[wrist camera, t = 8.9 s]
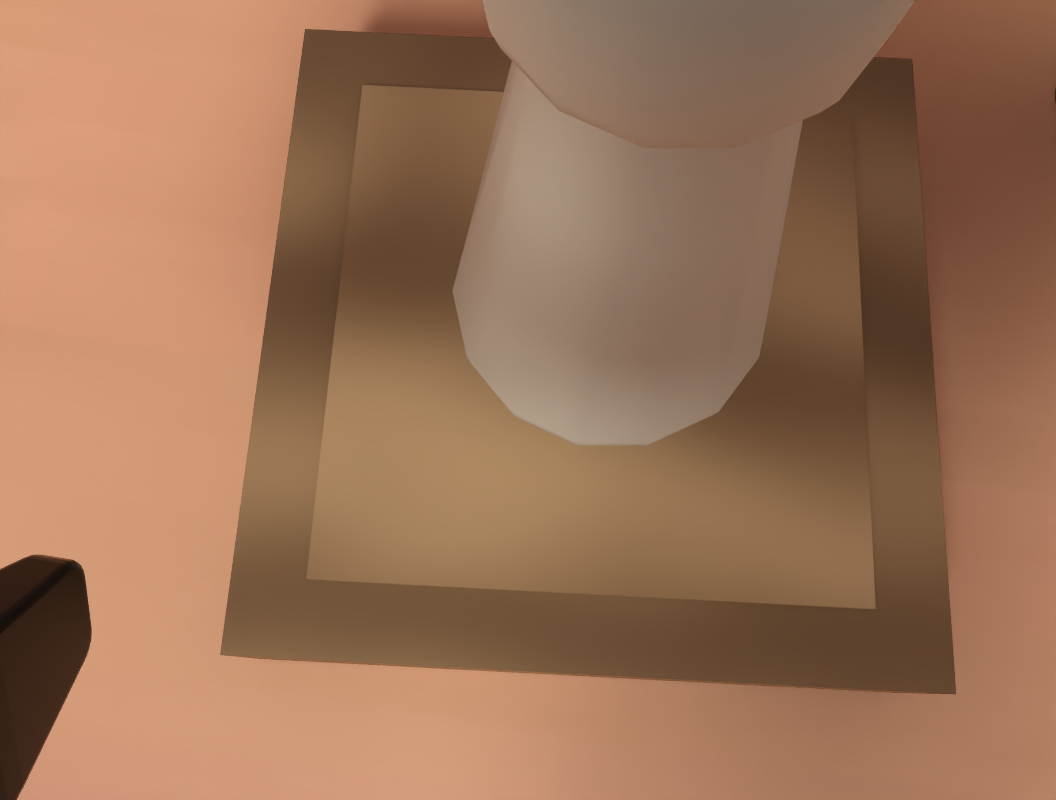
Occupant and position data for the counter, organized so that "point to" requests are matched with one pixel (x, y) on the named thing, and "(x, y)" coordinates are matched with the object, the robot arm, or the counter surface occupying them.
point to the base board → (585, 471)
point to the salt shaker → (643, 200)
